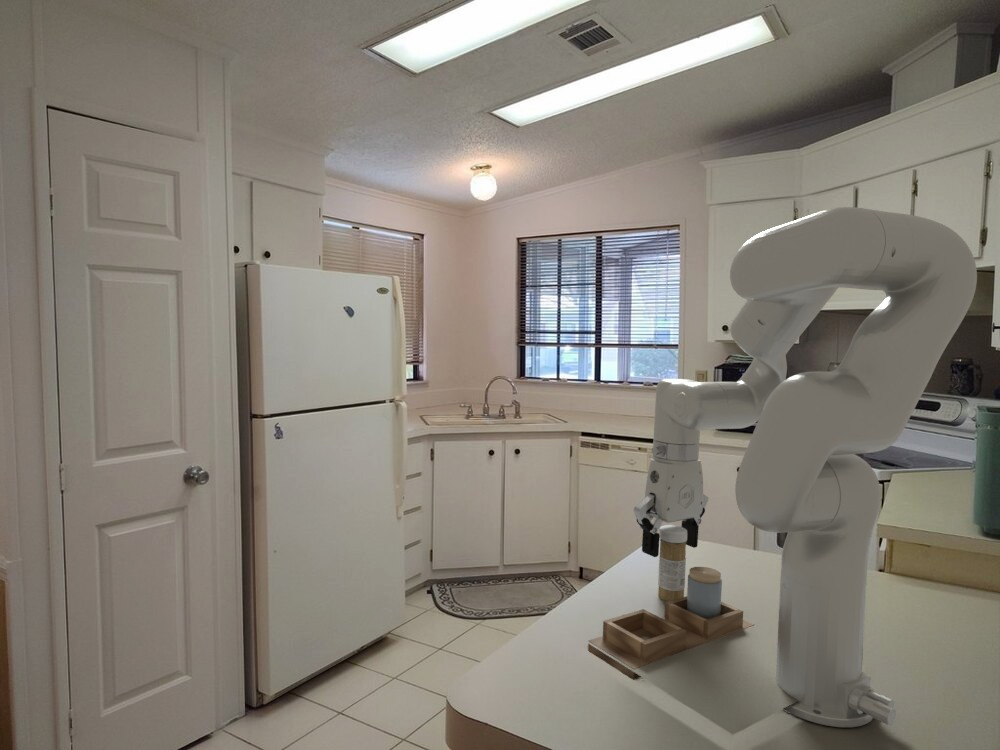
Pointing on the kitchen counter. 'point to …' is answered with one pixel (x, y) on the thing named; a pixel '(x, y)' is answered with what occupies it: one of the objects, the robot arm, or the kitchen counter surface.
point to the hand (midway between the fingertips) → (669, 549)
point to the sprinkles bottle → (672, 562)
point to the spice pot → (704, 592)
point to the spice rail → (661, 634)
